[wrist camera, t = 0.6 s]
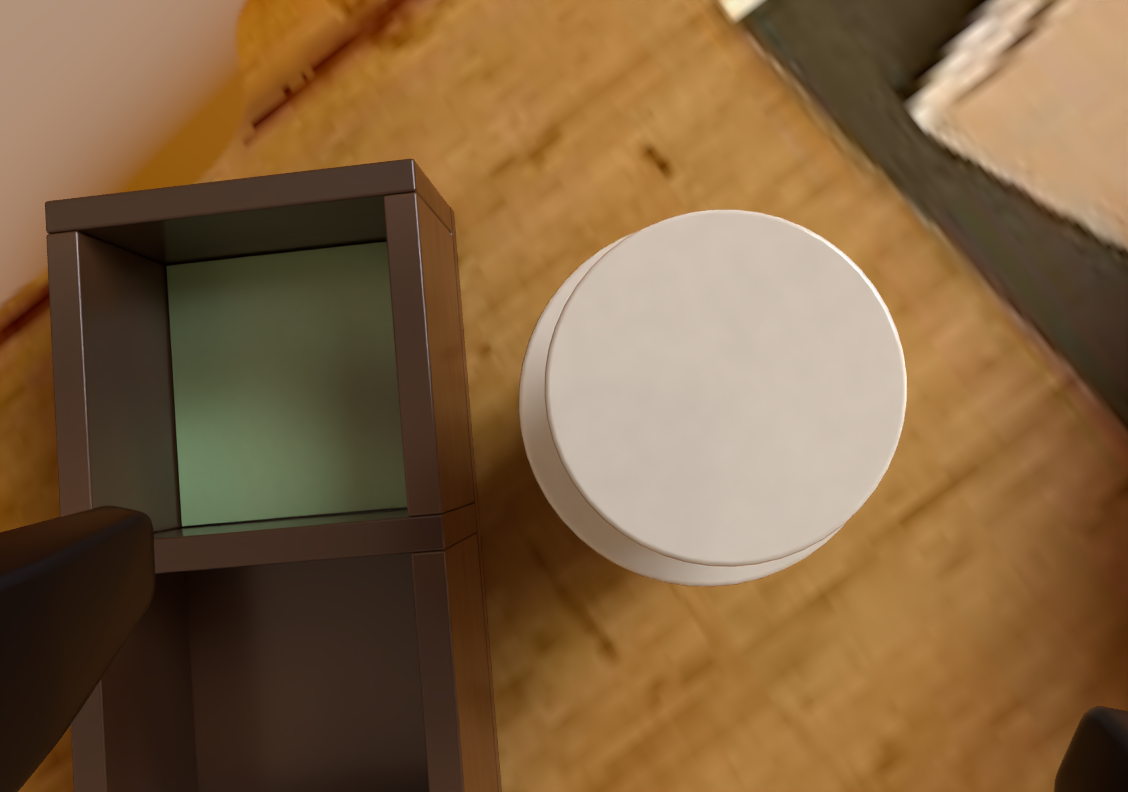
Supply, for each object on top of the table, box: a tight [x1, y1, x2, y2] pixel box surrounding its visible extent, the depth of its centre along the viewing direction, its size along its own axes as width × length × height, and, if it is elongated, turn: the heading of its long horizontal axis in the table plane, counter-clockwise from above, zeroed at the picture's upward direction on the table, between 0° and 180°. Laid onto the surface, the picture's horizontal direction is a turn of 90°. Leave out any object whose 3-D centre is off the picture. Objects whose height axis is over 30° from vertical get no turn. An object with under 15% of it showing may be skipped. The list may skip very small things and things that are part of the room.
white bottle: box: [519, 209, 907, 587], centre depth 16 cm, size 5×5×14 cm
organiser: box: [45, 159, 502, 792], centre depth 22 cm, size 17×9×4 cm, turn 5°
